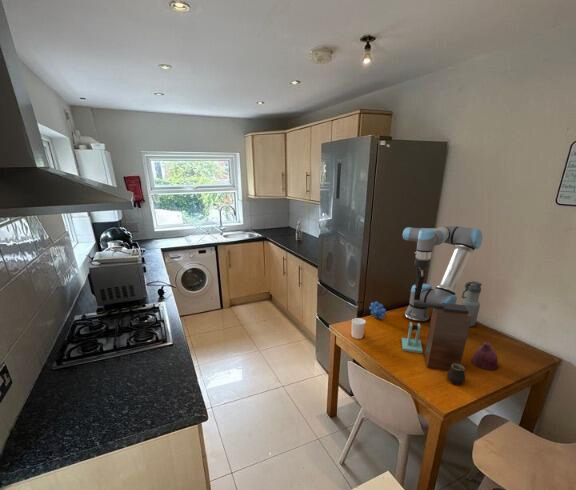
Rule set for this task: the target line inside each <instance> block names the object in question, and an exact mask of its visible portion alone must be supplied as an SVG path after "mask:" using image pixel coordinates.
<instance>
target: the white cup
mask: <svg viewBox="0 0 576 490" xmlns="http://www.w3.org/2000/svg"><path fill="white" fill-rule="evenodd" d="M366 322H367V321H366V320H365V319H364V318H360V317H355V318H352V319H351V337H352V339H357V340H360V339H363V338H364V333H365V329H366V324H367V323H366Z"/></svg>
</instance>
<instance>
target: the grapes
mask: <svg viewBox="0 0 576 490" xmlns="http://www.w3.org/2000/svg"><path fill="white" fill-rule="evenodd" d="M368 309H369V310H370V315H371V316H373V317H374V319H376V320H377V319H379V320H383V319H384V318H386V316H387V314H386V312H387V309H386V308H384V305H383V304H382V303H379V301H374V302H370V306H369V307H368Z"/></svg>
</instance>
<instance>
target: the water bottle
mask: <svg viewBox="0 0 576 490" xmlns="http://www.w3.org/2000/svg"><path fill="white" fill-rule="evenodd" d="M482 285H483V283H482V282H478V281H474V280H472V281H468V282H466V283H465V285H464V289H465V290H463V291H462V295H461V298H462V299H463V300H462V302H461V305H465V306H466V308H467V309H468V311H469V313H470V315H471V316H472V318H471V322H470V326H469V327H475V326H476V323H477V320H478V316H479V312H480V307H481V303H480V302H479V298H480V294H481V292H482ZM465 293H466V296H465Z"/></svg>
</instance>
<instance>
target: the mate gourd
mask: <svg viewBox="0 0 576 490" xmlns="http://www.w3.org/2000/svg"><path fill="white" fill-rule="evenodd" d="M465 371H466V368H465V367H464V366H463V365H462V364H461V365H460V364H452V365H451V369H450V370H449V371H447V373H446V375H447V380H448V381H449V382H450V383H451V384H453V385H462V384H463V383H464V382H465V380H466V374H465Z"/></svg>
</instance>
